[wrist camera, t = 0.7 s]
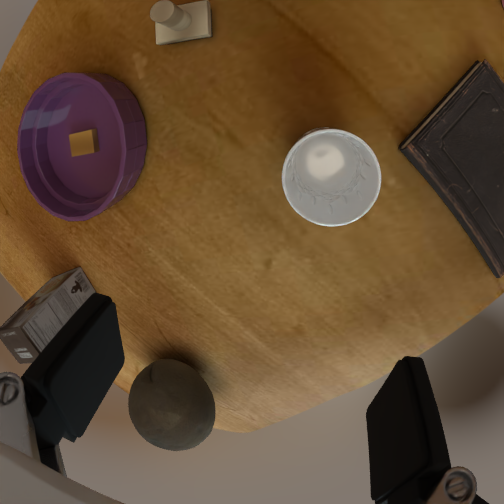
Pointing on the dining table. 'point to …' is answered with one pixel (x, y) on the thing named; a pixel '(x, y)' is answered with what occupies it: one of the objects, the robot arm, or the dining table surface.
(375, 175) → the white cup
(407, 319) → the dining table surface
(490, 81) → the hardcover book
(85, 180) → the bowl
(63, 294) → the coffee box
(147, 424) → the dark grey rounded lump
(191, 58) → the dining table surface
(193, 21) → the beige stamp
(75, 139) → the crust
